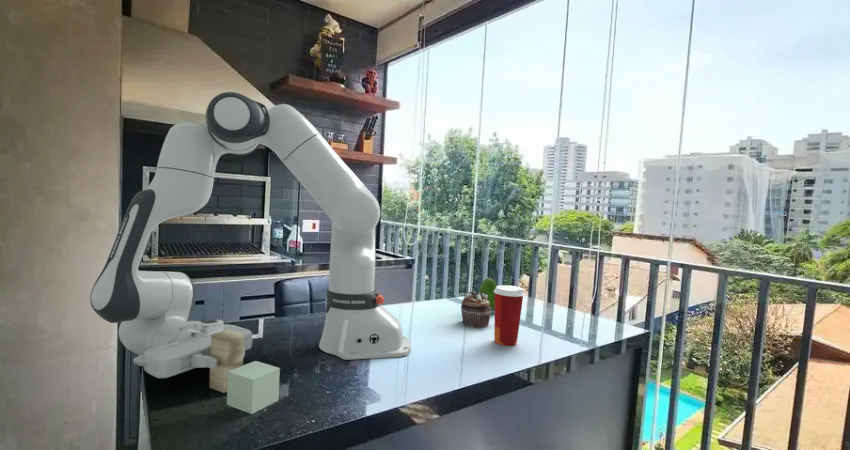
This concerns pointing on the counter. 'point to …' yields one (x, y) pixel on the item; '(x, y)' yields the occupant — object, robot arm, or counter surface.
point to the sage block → (253, 386)
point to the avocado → (489, 291)
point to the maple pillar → (225, 357)
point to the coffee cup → (507, 314)
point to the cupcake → (476, 309)
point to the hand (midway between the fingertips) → (230, 358)
